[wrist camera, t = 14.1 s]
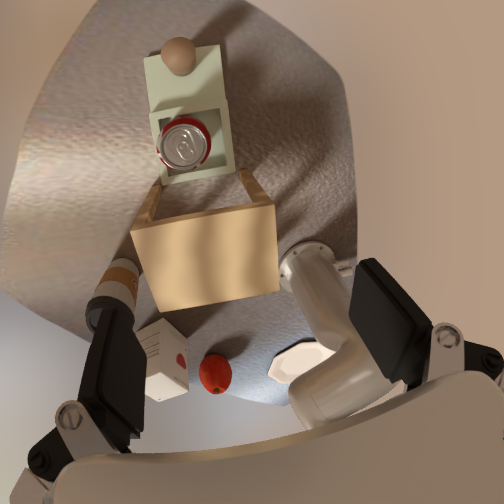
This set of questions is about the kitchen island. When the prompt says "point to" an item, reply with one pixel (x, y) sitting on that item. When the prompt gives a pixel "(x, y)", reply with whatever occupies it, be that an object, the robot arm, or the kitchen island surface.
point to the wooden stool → (209, 250)
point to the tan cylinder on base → (190, 102)
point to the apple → (215, 373)
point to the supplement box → (164, 360)
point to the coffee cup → (115, 292)
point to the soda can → (184, 143)
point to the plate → (298, 361)
